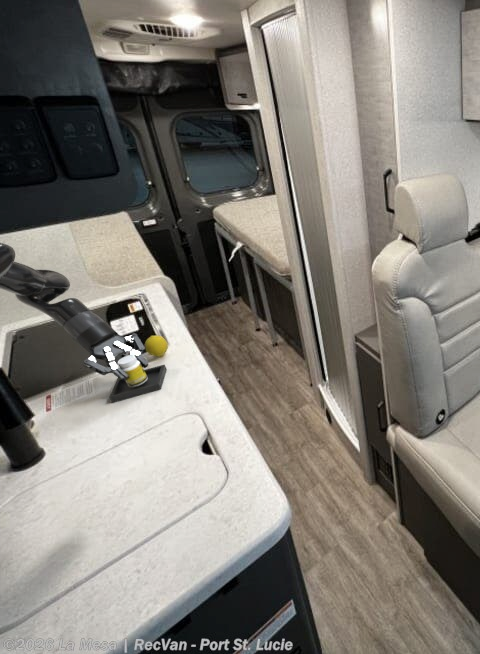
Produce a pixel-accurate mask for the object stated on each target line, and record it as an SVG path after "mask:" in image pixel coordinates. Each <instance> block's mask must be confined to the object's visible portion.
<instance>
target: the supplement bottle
mask: <svg viewBox="0 0 480 654" xmlns="http://www.w3.org/2000/svg"><path fill="white" fill-rule="evenodd" d="M117 366H118V367H120V368H121V369H122V370H123V371H124V372H125V373H126V374H127V375H129V379H127V380H126V383H127V385H128V386H129V387H136V386H139V385H141V384H143V383H144V382H146V381H147V379H148V377H147V375H146V373H145V371H144V370H145V368H143V367H142V365H141V363H140V362H139V361H138V360H137V358H136V357H135V356H134V355H128V356H125V355H124V356H123V357H120V358H119V359H118V361H117Z"/></svg>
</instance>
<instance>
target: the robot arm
mask: <svg viewBox="0 0 480 654" xmlns="http://www.w3.org/2000/svg"><path fill="white" fill-rule="evenodd" d="M15 260H16V251H15V249H14V247H12V246H10V245H9V244H6V243H4V242H3V243H2V242H0V289H1V290H3V291H5V292H9V293H12V294H14V295H15V297H16V299H17V300H18V301H19V302H20V303H22V304H24V305H26V306H29V307H31V308H32V309H35V310H38V311H39V312H41V313H43V314H45V315H46V316H48V317H50V318H51V319H52V320H54V322H56V323H57V324H58V325H59V326H60V327H62V328H63V329H64V330H65V332H66V333H67V334H68V335H69V336H70V337H71V338H72V339H73V340H74V341H76V343H78V344H79V345H80V346H81V347H82V348H84V349H85V350H86V351H87V352H88V353H89V354H90V356H89V357H88V358H85V359H84V360H83V363H82V367H84V368H86V369H88V370H90V371H92V372H95V373H97V374H98V375H101V376H106V375H108V374H113V375H114V376H116V378H119V379H120V380H125V381H126V380H127V379H129V375H127V374H126V373H125V372H124V371H123V370H122V369H121V368H120V366H118V364H117V363H116V358H118V357H120V356H122V355H123V356H124V357H125V356H128V355H134V356H135V357H136V358H137V360H138V361H139V362H140V363H141V365H142V367H143V369H147V368H148V367H149V360H148V359H147V358H146V357H145V356H143V355H142V354H143V353H144V350H146V348H145V345H144V343H143V342H142V341H141V338H140V337H139V335H138V333H136V332H133V333H131V334H130V335H128V336H123V335H120V334H119V333H118V332H117V331H116V330H115V329H114V328H113V327H111V326H110V324H108V323H107V322H106V321H105V320H104V319H102V318H101V317H100V316H99V315H98V314H96V313H95V312H93V311H92V310H91V309H90V308H88V306H86V305H85V304H84V303H83V302H82V301H81V300H79V299H78V298H75V297H70V298H65V299H63V300H60V301H57V302H54V303H50V302H52V301H53V300H55V299H56V298H58V297H60V296H61V295H63V294H65V293H66V292H67V291H69V289H70V287H71V282H70V280H69V279H68V278H67V277H66V276H65V275H63V274H62V273H60V272H58V271H54V270H50V269H36V268H35V269H34V268H33V267H30V266H28V265H26V264H23V263H20V262H18V261H17V262H16V261H15ZM127 342H129V343H130V344H132V345H133V346H134V348H135V349H134V348H133V347H132V346H129V345H127ZM97 360H103V361H104V362H105V365H106V366H105V365H102V364H100V363H98V362H97Z"/></svg>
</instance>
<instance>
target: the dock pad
mask: <svg viewBox="0 0 480 654" xmlns="http://www.w3.org/2000/svg"><path fill="white" fill-rule="evenodd" d="M144 371H145V373H146V375H147V377H148V379H147V381H146V382H144V383H143V384H141V385H139V386H136V387H129V386H128V385H127V383H126V381H125V380H120V379H119V378H118V377H116V380H115V383H114V385H113V387H112V390H111V392H110V394H109V396H108V399H109V401H110V402H111V404H114V403H117V402H121V401H125V400H128V399H132V398H135V397H138V396H143V395H146V394H150V393H152V392H153V393H154V392H156V391H160V390H162V388H163V384H164V381H165V377H166V374H167V371H168V369H167V367H166V364H161V365H157V366H154V367H153V366H152V367H150V368H144Z"/></svg>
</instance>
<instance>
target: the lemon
mask: <svg viewBox="0 0 480 654" xmlns="http://www.w3.org/2000/svg"><path fill="white" fill-rule="evenodd" d="M168 344H169V343H168V342H167V340H166V338H164V337H163V336H161V335H150V337H148V338H147V339H146V340H145V343H144V347H145V351H146V353H147V354H148V355H150V356H152V357H162V356H164V354H166V353H167V351H168V348H169V345H168Z"/></svg>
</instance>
